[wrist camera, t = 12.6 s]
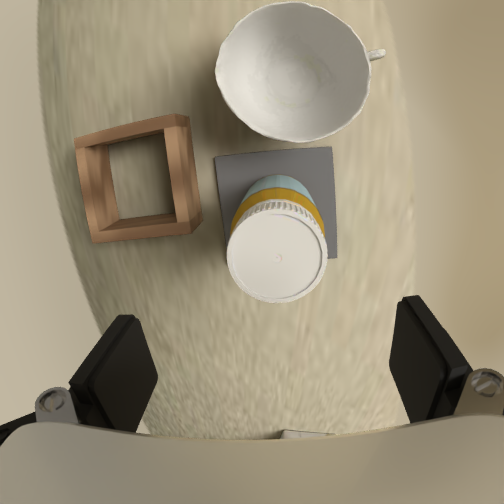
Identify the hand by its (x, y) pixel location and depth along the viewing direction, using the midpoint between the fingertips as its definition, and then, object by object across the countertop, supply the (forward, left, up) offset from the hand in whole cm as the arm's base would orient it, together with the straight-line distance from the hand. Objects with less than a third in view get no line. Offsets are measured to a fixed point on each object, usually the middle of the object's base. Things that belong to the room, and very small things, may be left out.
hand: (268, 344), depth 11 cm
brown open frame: (-5, -14, -25) cm, 28 cm away
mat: (0, 0, -25) cm, 25 cm away
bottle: (0, 0, -24) cm, 24 cm away
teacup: (-13, +4, -25) cm, 28 cm away
